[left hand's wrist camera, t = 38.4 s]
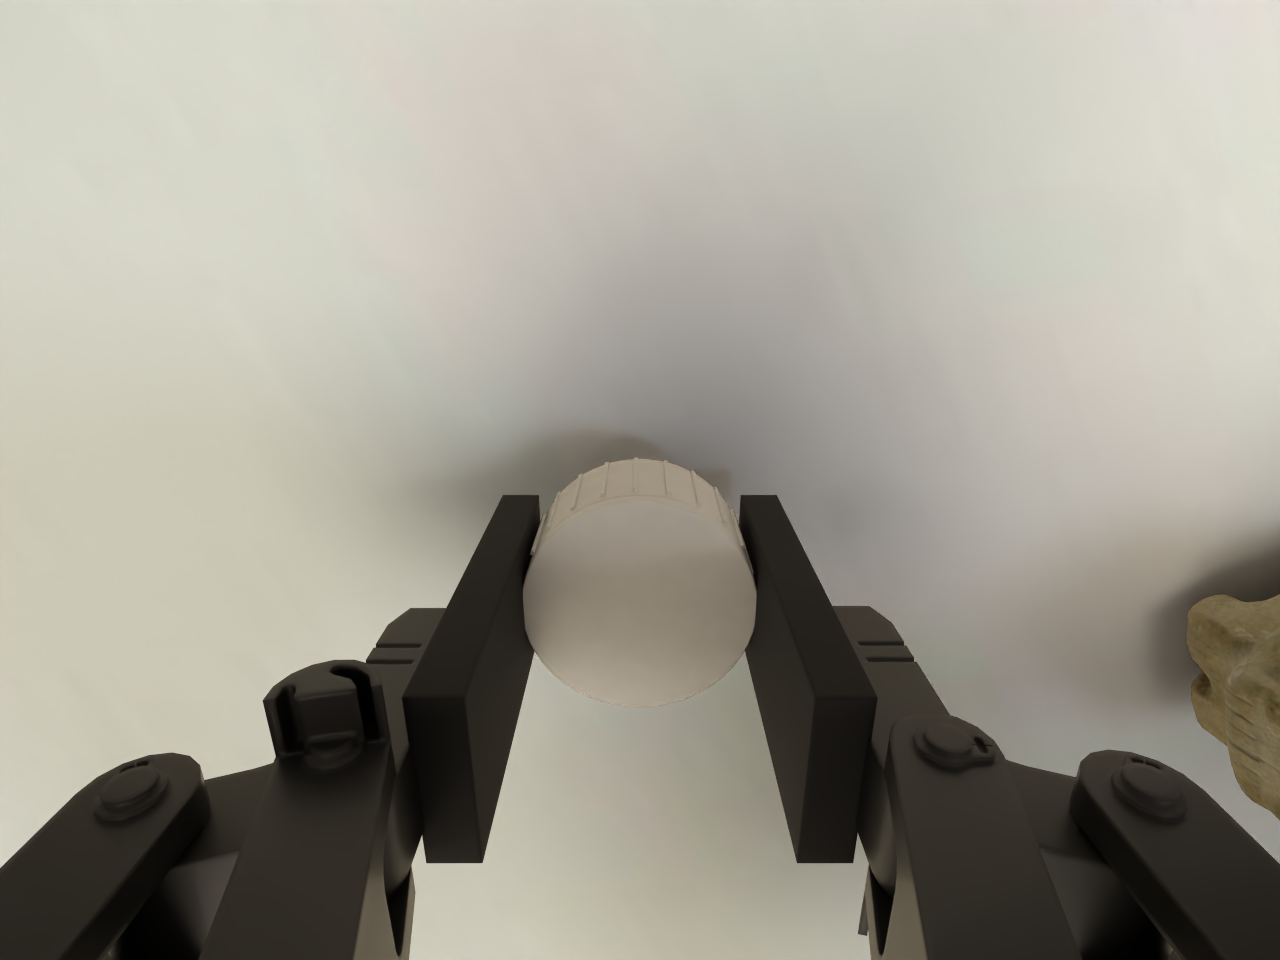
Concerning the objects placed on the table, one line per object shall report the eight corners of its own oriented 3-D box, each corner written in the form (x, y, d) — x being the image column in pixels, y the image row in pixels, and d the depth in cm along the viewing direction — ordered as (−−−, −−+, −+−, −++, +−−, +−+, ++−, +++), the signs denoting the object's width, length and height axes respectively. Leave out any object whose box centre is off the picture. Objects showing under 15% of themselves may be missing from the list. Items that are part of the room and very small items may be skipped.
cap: (773, 595, 15) (796, 659, 13) (593, 668, 16) (586, 740, 13) (692, 420, 14) (702, 458, 11) (498, 508, 14) (473, 559, 12)
